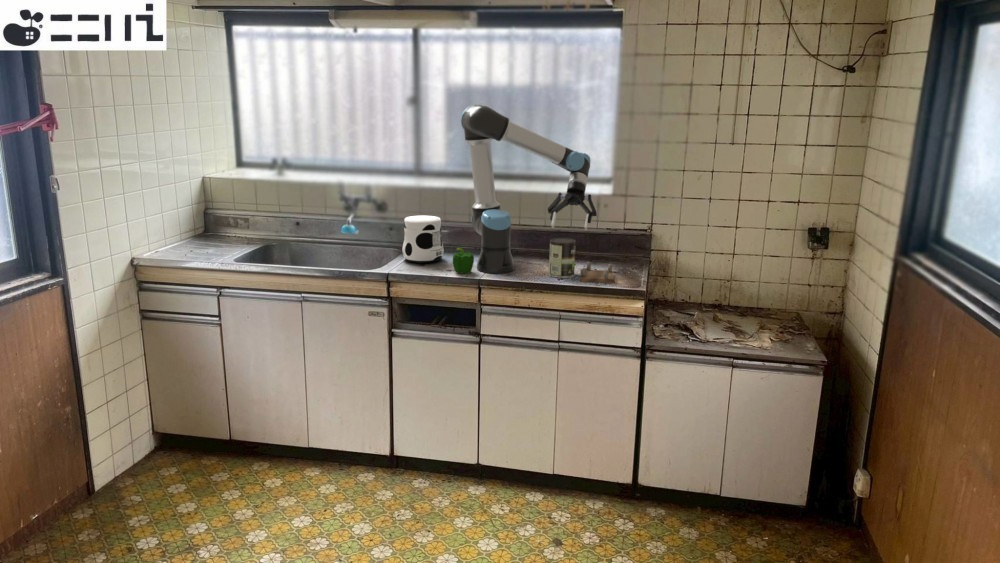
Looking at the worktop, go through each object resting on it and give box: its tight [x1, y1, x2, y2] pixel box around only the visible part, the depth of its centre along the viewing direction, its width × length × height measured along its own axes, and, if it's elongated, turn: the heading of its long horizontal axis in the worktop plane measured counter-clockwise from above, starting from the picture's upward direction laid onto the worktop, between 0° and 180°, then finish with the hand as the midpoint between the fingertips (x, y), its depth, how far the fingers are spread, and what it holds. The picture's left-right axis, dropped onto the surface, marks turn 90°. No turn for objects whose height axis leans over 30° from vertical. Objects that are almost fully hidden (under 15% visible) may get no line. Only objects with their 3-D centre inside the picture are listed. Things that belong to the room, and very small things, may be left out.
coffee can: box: [548, 237, 577, 279], centre depth 281 cm, size 10×10×14 cm
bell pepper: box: [452, 247, 475, 275], centre depth 282 cm, size 8×8×10 cm
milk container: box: [401, 215, 445, 264], centre depth 300 cm, size 17×17×18 cm
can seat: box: [579, 261, 616, 284], centre depth 278 cm, size 13×13×5 cm
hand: (568, 227), depth 288 cm, fingers open, 13 cm apart
